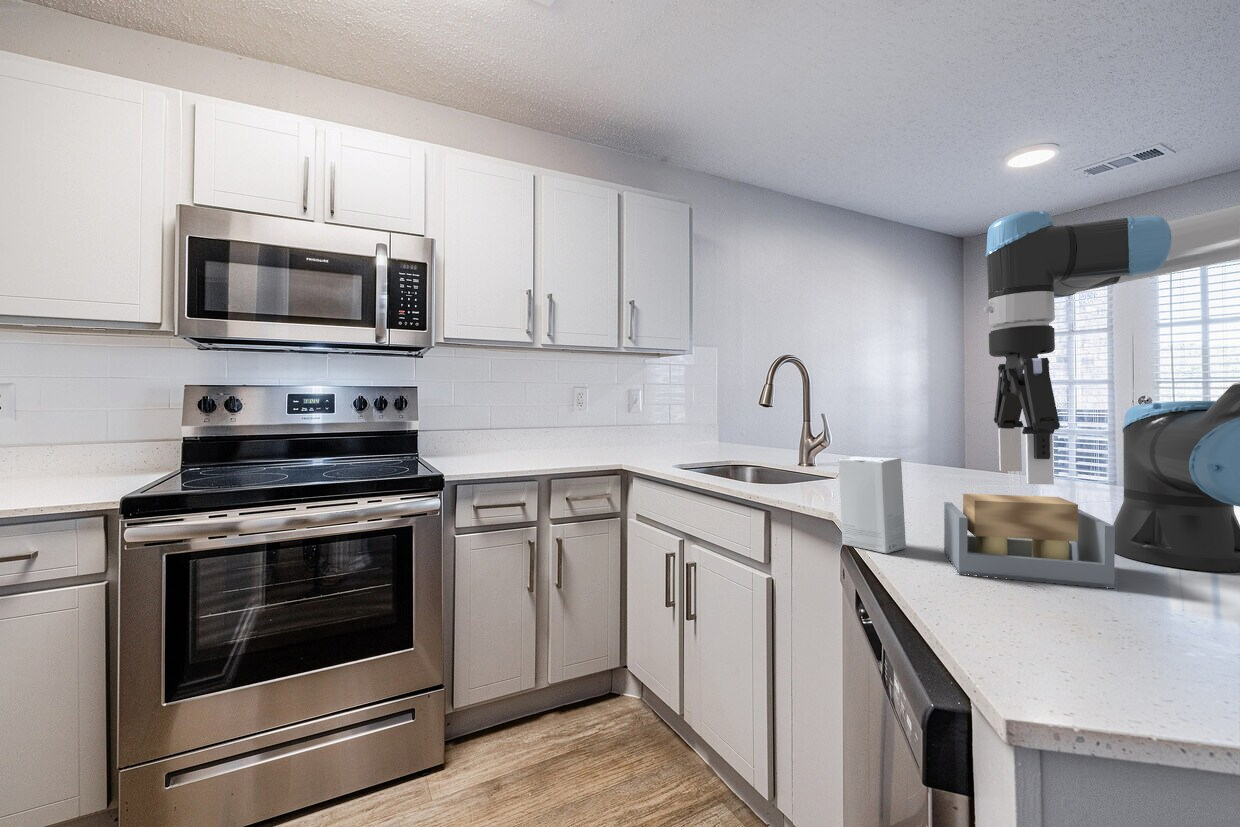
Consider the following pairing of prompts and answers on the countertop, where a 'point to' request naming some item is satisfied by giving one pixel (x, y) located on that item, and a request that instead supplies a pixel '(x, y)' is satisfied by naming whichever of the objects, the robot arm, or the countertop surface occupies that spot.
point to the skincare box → (872, 503)
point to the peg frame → (1034, 553)
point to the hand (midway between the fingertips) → (1024, 477)
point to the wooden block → (1021, 517)
